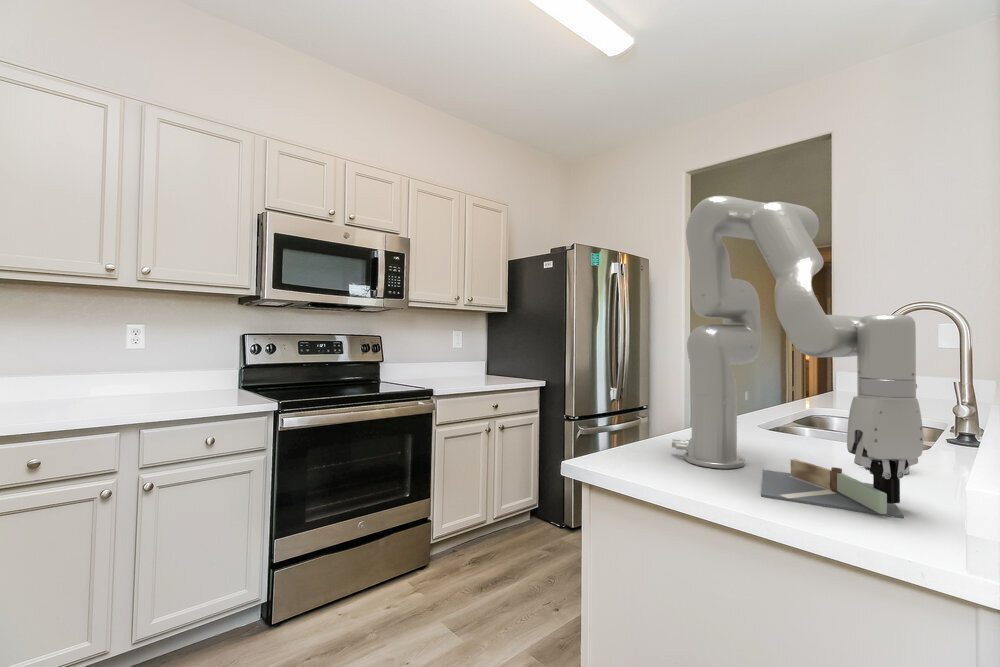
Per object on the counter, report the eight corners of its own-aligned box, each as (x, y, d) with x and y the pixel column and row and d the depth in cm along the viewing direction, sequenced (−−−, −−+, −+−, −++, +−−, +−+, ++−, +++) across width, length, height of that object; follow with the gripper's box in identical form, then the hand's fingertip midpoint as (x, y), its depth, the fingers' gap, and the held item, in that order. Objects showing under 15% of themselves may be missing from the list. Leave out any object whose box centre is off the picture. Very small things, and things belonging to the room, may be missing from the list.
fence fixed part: (789, 478, 96) (789, 455, 96) (795, 477, 97) (795, 455, 97) (837, 495, 86) (837, 470, 86) (844, 494, 87) (844, 469, 87)
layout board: (761, 496, 85) (761, 494, 85) (763, 471, 101) (763, 469, 101) (904, 518, 75) (904, 515, 75) (882, 487, 91) (882, 484, 91)
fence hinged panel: (837, 490, 86) (837, 473, 86) (842, 491, 86) (842, 473, 86) (880, 513, 75) (880, 493, 75) (886, 513, 75) (886, 493, 75)
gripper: (903, 386, 83) (904, 491, 83) (826, 387, 81) (827, 495, 81) (949, 391, 75) (950, 506, 75) (865, 392, 74) (866, 511, 73)
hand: (886, 500), depth 78 cm, fingers closed
